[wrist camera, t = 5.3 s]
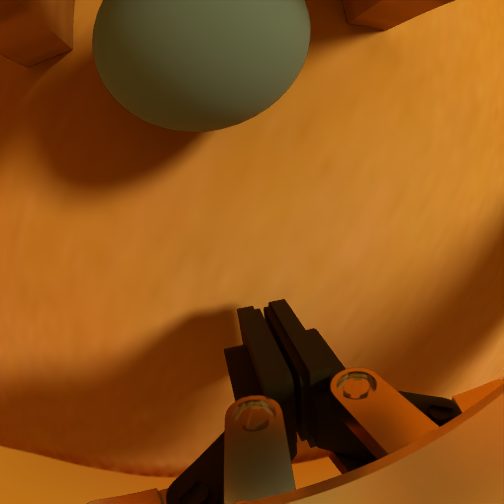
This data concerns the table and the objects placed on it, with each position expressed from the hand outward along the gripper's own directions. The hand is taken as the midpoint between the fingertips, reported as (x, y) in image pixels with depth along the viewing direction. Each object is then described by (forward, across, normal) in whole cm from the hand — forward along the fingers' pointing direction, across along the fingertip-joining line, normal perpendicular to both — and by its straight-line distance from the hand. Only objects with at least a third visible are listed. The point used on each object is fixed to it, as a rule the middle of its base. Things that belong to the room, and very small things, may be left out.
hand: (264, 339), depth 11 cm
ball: (-1, +1, -10) cm, 10 cm away
